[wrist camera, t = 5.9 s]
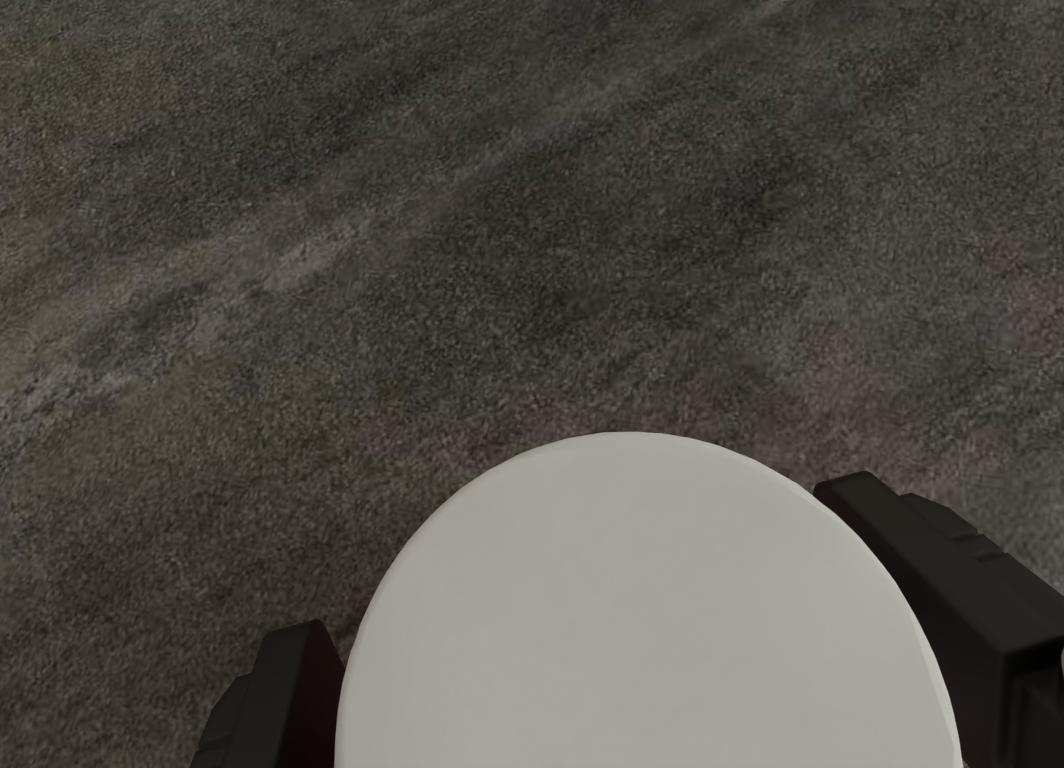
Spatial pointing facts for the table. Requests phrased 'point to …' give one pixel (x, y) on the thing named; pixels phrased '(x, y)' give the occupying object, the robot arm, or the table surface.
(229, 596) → the table surface
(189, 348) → the table surface
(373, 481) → the table surface
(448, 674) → the pill bottle
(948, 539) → the robot arm
